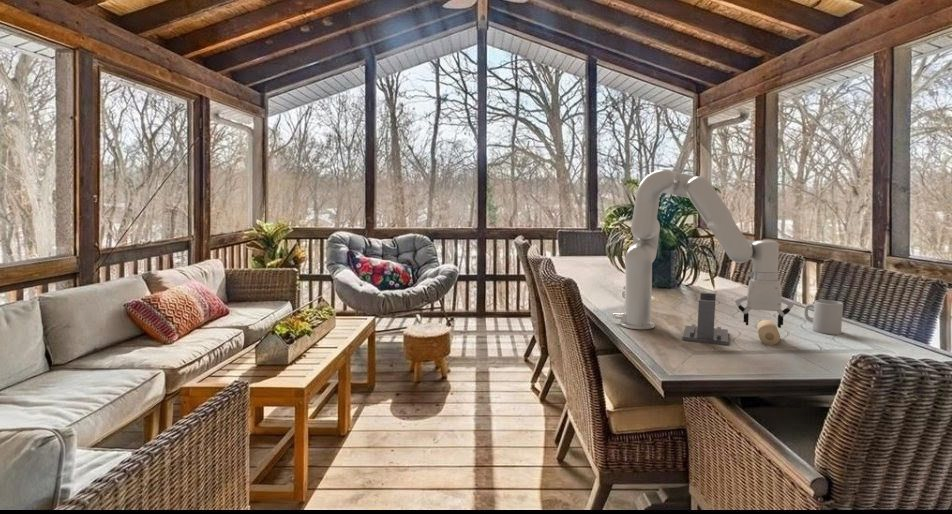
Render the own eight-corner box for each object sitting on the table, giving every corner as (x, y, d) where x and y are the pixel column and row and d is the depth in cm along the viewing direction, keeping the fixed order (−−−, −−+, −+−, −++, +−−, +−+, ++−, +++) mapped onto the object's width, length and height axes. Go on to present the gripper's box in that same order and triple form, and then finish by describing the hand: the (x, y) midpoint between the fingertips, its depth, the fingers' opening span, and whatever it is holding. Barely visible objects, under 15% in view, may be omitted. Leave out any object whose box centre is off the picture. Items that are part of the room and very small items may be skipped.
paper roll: (768, 348, 165) (784, 337, 163) (754, 335, 166) (770, 323, 164) (766, 339, 176) (780, 329, 173) (752, 326, 177) (767, 316, 175)
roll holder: (682, 340, 171) (684, 299, 169) (685, 328, 186) (687, 291, 184) (728, 345, 164) (730, 303, 163) (727, 332, 180) (729, 294, 178)
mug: (845, 332, 180) (847, 302, 178) (834, 336, 175) (836, 305, 174) (809, 325, 190) (811, 297, 188) (797, 328, 185) (799, 299, 184)
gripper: (736, 277, 169) (734, 326, 171) (796, 279, 161) (793, 330, 163) (735, 274, 176) (734, 321, 178) (793, 276, 168) (791, 325, 170)
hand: (762, 325), depth 170 cm, fingers open, 9 cm apart
